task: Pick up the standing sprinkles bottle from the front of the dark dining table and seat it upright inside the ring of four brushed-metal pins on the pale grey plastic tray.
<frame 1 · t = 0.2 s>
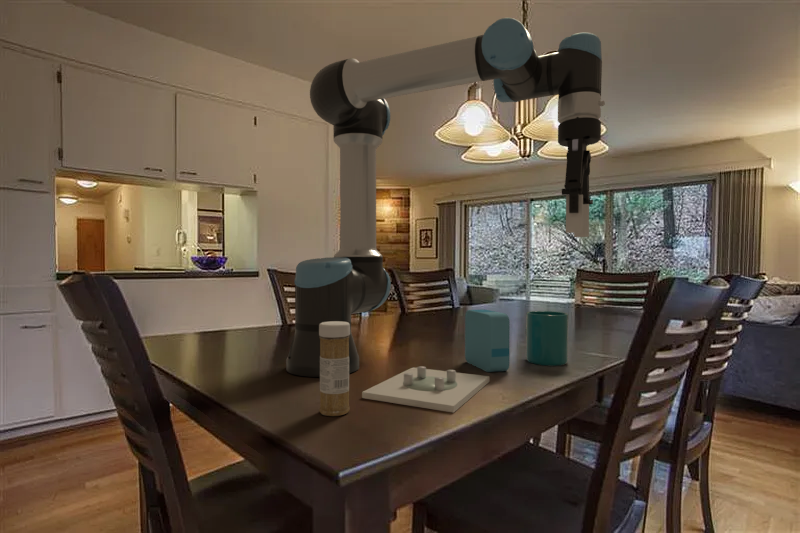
hand: (578, 235, 85), 28 cm above the table, tool pointing down, fingers open, 13 cm apart
sprinkles bottle: (334, 413, 67), on the table
pin tray: (430, 389, 80), on the table
data package: (486, 367, 98), on the table
cup: (542, 361, 104), on the table
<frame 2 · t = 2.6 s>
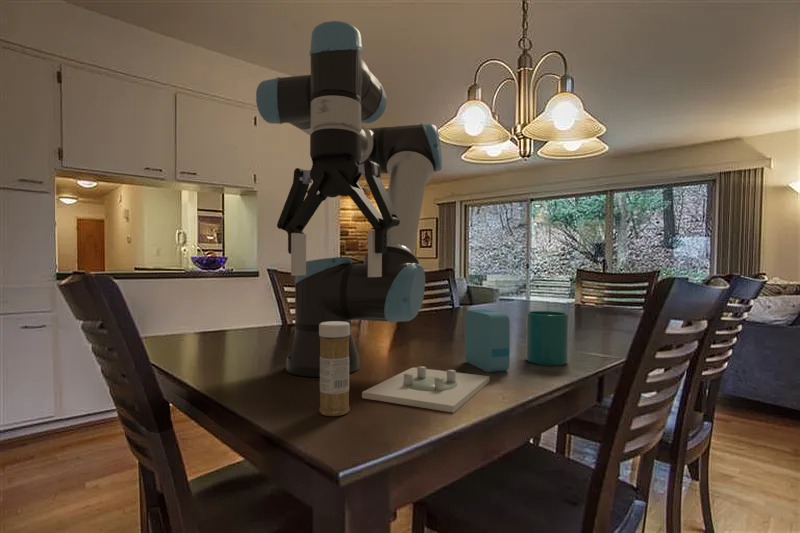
hand: (335, 276, 67), 20 cm above the table, tool pointing down, fingers open, 13 cm apart
nothing on the table moved.
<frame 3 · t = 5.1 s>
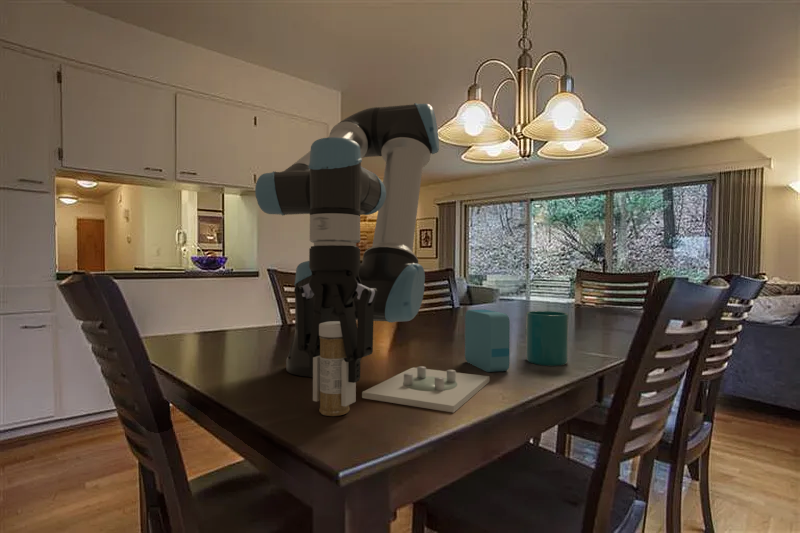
hand: (334, 400, 67), 2 cm above the table, tool pointing down, fingers closed on sprinkles bottle, 4 cm apart
sprinkles bottle: (334, 413, 67), on the table, touching gripper
everything else where it was.
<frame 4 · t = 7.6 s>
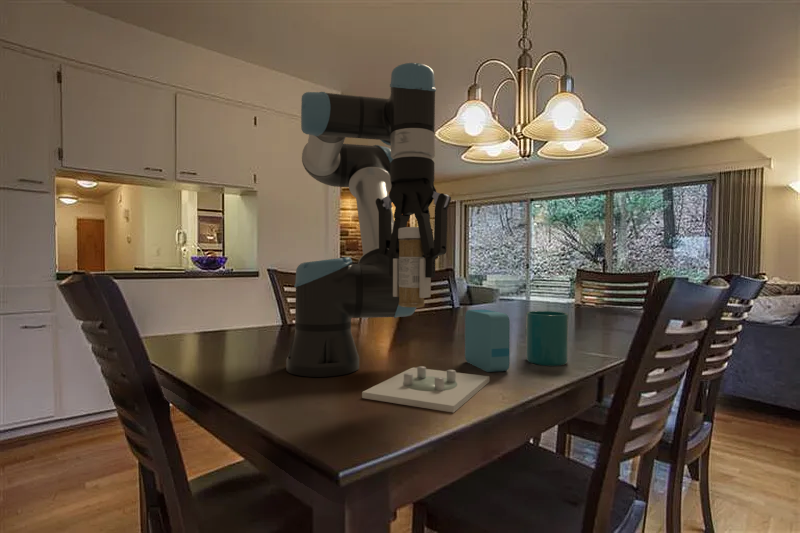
hand: (411, 296, 77), 17 cm above the table, tool pointing down, fingers closed on sprinkles bottle, 4 cm apart
sprinkles bottle: (411, 307, 77), point 15 cm above the table, touching gripper
everything else where it was.
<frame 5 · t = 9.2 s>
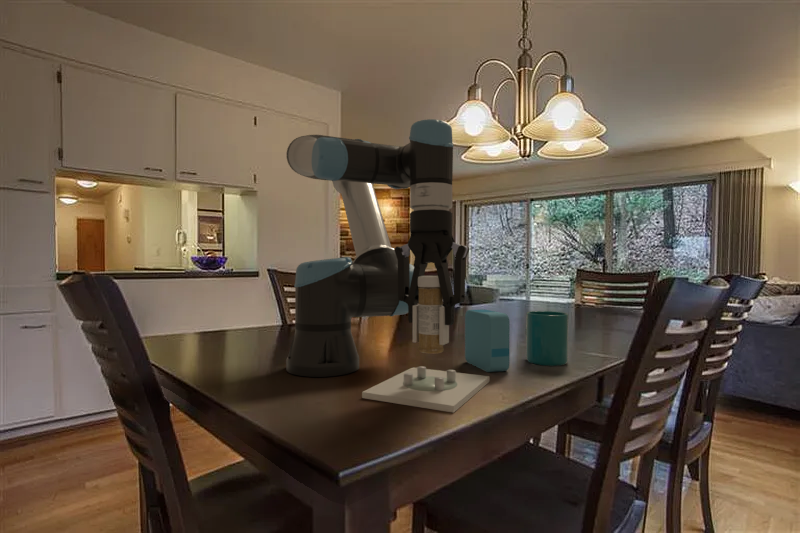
hand: (430, 342, 80), 8 cm above the table, tool pointing down, fingers closed on sprinkles bottle, 4 cm apart
sprinkles bottle: (430, 353, 80), point 6 cm above the table, touching gripper
everything else where it was.
when the fingers open (4 cm above the table, at t = 10.6 s): sprinkles bottle drops 1 cm, resting on pin tray.
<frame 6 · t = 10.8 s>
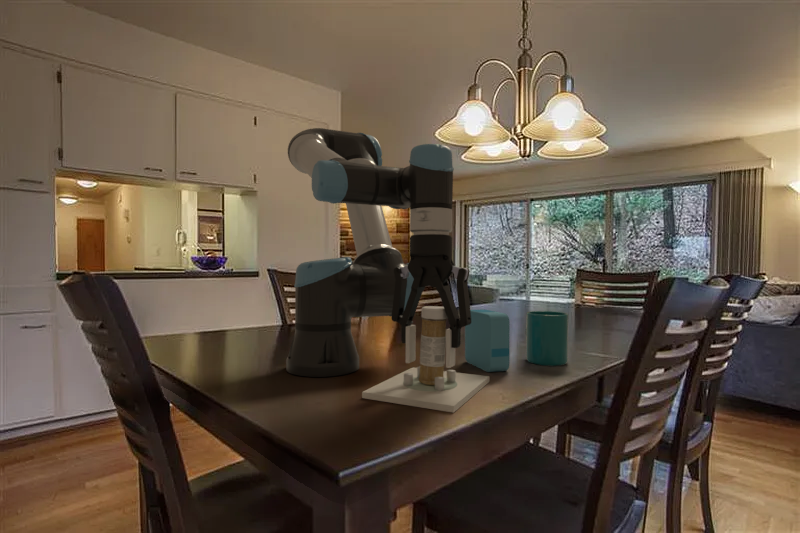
hand: (430, 363, 80), 5 cm above the table, tool pointing down, fingers open, 7 cm apart
sprinkles bottle: (430, 383, 80), point 1 cm above the table, touching pin tray
everything else where it was.
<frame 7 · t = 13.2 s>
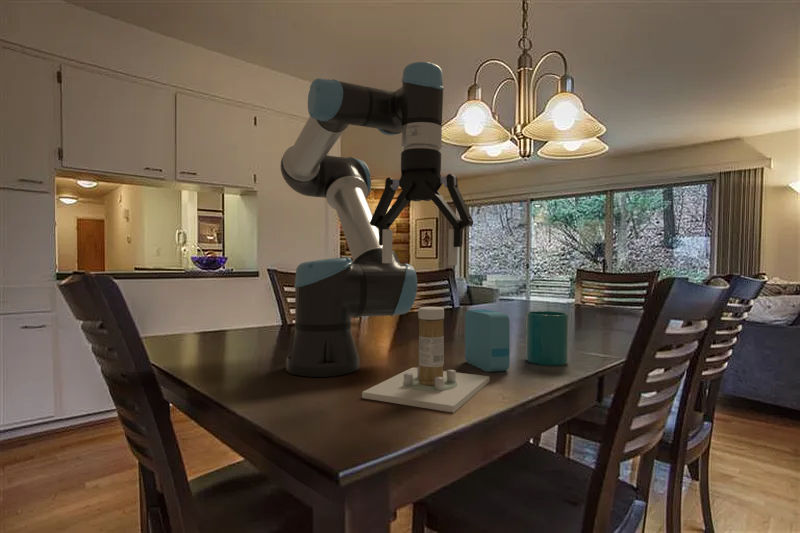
hand: (418, 264, 85), 22 cm above the table, tool pointing down, fingers open, 13 cm apart
nothing on the table moved.
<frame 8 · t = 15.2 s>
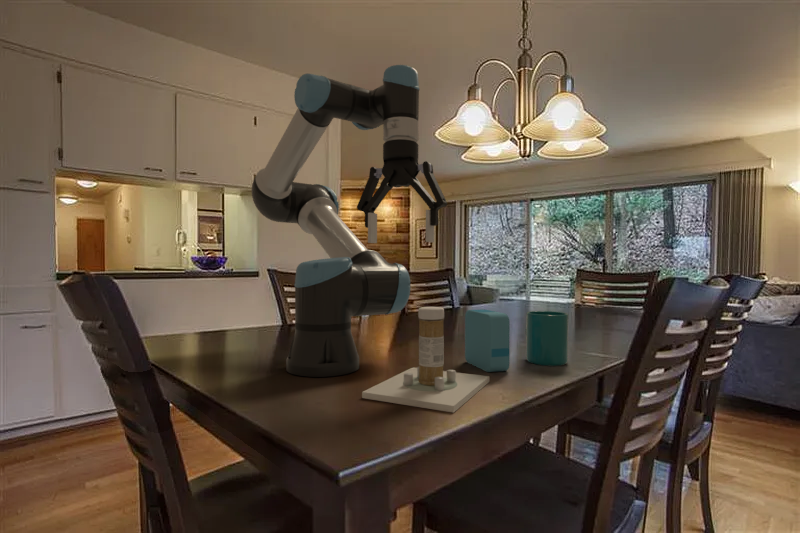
hand: (400, 242, 96), 27 cm above the table, tool pointing down, fingers open, 13 cm apart
nothing on the table moved.
at the end: sprinkles bottle 0.2 cm off-centre on the pin tray, point 0.9 cm above the pin tray's base; sprinkles bottle tilted 0°; the gripper is holding nothing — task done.
